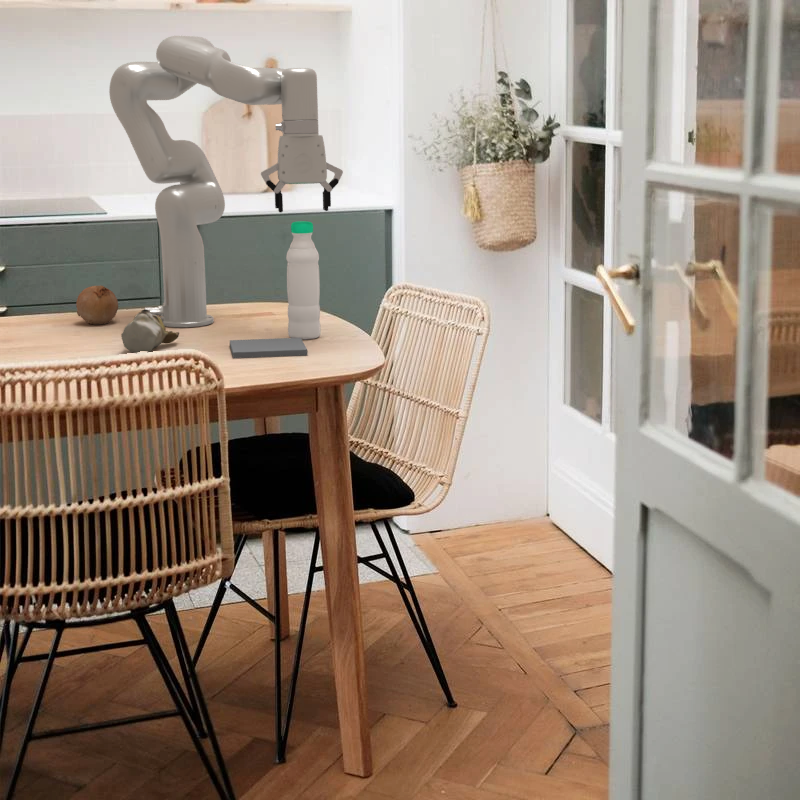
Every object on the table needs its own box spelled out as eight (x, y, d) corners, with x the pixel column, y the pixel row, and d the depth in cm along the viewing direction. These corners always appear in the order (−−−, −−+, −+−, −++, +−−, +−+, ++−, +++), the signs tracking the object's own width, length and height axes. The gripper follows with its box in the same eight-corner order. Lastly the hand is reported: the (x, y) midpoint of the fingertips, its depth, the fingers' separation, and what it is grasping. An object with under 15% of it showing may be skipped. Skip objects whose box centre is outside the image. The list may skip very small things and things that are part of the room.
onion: (111, 337, 296) (121, 301, 291) (70, 328, 293) (79, 291, 288) (114, 316, 303) (123, 280, 298) (73, 307, 301) (82, 271, 296)
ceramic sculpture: (108, 312, 260) (133, 304, 275) (109, 354, 262) (134, 344, 276) (159, 314, 259) (181, 306, 273) (159, 356, 260) (182, 346, 275)
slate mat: (233, 358, 258) (232, 352, 258) (229, 345, 271) (229, 340, 270) (307, 355, 261) (307, 349, 261) (300, 343, 273) (300, 337, 273)
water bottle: (315, 340, 276) (313, 223, 270) (284, 339, 277) (281, 223, 271) (324, 334, 282) (322, 220, 276) (293, 333, 284) (290, 219, 278)
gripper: (260, 130, 264) (263, 214, 268) (343, 128, 267) (346, 211, 271) (257, 129, 271) (261, 211, 275) (339, 127, 274) (341, 208, 278)
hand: (303, 211), depth 273 cm, fingers open, 9 cm apart
